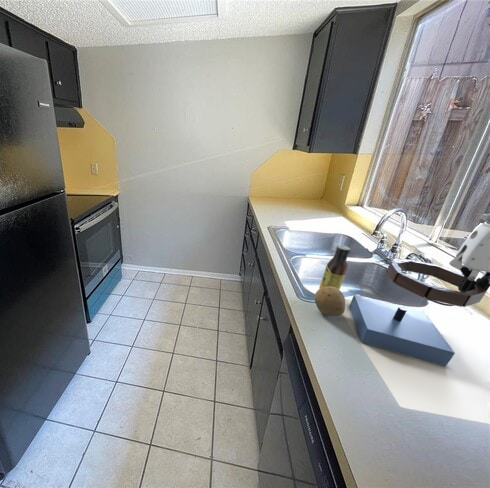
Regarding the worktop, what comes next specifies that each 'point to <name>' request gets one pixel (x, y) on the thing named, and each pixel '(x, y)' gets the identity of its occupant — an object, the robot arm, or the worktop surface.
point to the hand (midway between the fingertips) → (468, 293)
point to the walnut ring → (432, 291)
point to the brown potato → (330, 301)
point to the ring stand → (399, 330)
